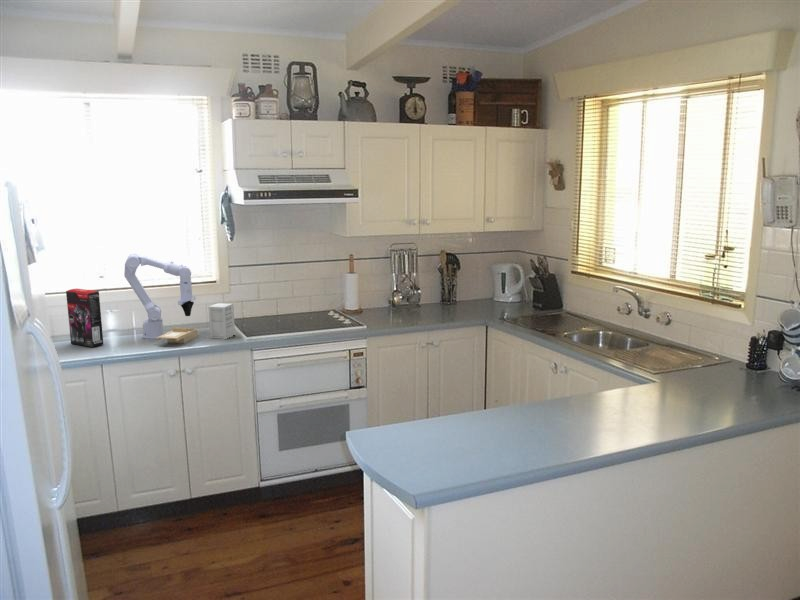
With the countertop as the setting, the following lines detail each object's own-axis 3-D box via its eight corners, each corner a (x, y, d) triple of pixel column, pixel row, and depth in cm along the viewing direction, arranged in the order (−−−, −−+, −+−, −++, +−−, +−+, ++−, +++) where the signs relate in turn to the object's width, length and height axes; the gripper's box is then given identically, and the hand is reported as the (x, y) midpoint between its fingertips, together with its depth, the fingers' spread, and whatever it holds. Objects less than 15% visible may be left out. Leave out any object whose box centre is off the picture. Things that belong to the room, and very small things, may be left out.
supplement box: (235, 335, 346) (234, 303, 343) (226, 339, 337) (224, 307, 334) (219, 334, 348) (217, 302, 345) (209, 338, 340) (207, 306, 336)
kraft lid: (157, 340, 323) (156, 333, 322) (172, 333, 336) (171, 327, 335) (177, 340, 321) (176, 334, 320) (191, 334, 334) (191, 327, 334)
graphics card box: (69, 344, 330) (64, 290, 325) (82, 341, 336) (76, 287, 331) (92, 348, 322) (87, 292, 317) (105, 345, 328) (100, 290, 323)
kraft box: (167, 342, 330) (166, 334, 329) (181, 335, 344) (181, 328, 343) (184, 343, 329) (183, 335, 328) (197, 336, 342) (197, 328, 341)
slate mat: (153, 345, 326) (153, 344, 326) (176, 334, 348) (176, 334, 347) (189, 347, 323) (189, 346, 323) (210, 336, 344) (210, 335, 344)
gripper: (186, 292, 336) (188, 319, 339) (200, 288, 350) (201, 313, 353) (173, 292, 337) (175, 318, 340) (187, 287, 351) (189, 312, 354)
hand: (187, 315), depth 346 cm, fingers closed
